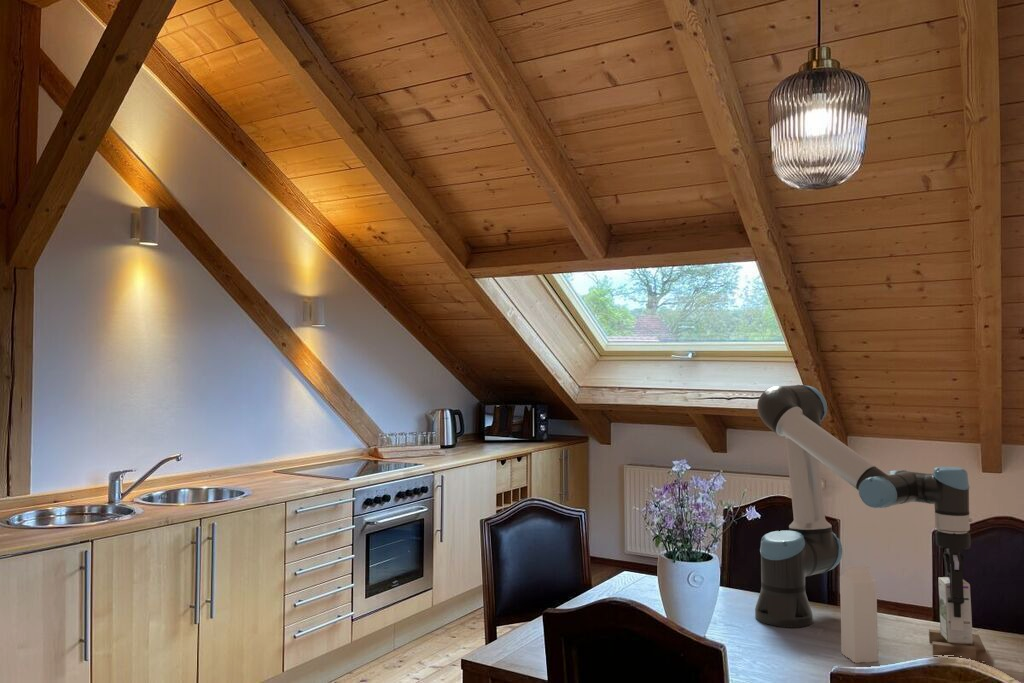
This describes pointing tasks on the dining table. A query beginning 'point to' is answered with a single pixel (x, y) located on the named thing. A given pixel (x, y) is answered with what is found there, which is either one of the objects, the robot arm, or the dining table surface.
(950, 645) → the brown square tray
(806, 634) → the dining table surface
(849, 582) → the milk
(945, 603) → the syrup box
